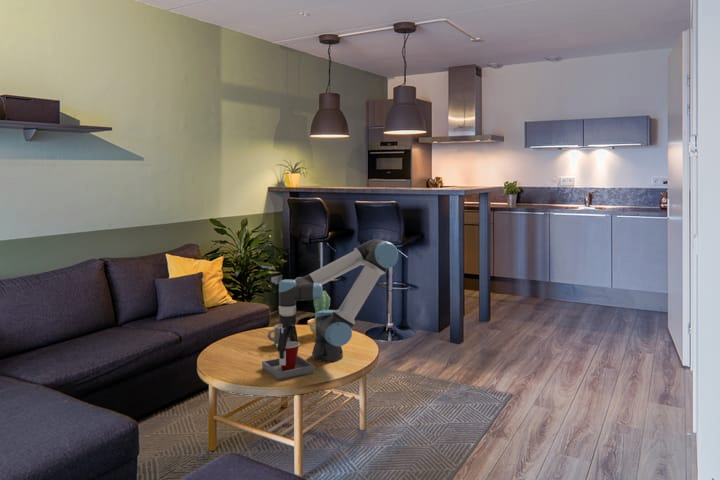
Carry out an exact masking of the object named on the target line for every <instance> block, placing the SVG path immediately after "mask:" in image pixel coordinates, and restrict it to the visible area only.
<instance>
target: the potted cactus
mask: <svg viewBox="0 0 720 480" xmlns="http://www.w3.org/2000/svg"><path fill="white" fill-rule="evenodd" d="M313 307H314V318H310V319H309V320H307V322H306V323H307V325H308V326H309V329H310V331H311V332H312V334H313V337H315V338H316V319H315V317H316V312H318V311H323V310H330V309H329V308H330V307H331V297H330V296H329V294H328V293H327V291H326V290H322V297H321V299H316V300H313Z"/></svg>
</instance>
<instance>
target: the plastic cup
mask: <svg viewBox="0 0 720 480" xmlns="http://www.w3.org/2000/svg"><path fill="white" fill-rule="evenodd" d="M300 345H301V344H300V342H299V341H295V342H287V343H286V347H285V351H286V365H285V366H284V365H281V368H282V370H283V371H287V370H292V369H295V365H296V359H297V355H298V351H299V347H300ZM275 347H276V349H277V348H278V344H277V345H276V346H275ZM277 352H278V353H279V351H277Z"/></svg>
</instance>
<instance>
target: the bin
mask: <svg viewBox="0 0 720 480" xmlns="http://www.w3.org/2000/svg"><path fill="white" fill-rule="evenodd" d="M261 368H262V370H263V371H265V372H266V373H267V374H268V375H270V376H271V377H273V378H274V379H275V380H276V381H283V380H287V379H289V380H290V379H294V378H299V377H304V376H307V375H313V374H315V365H314V364H313V363H312V362H309V361H308V360H305V359H304V358H303V357H301V356H299V355H298V354H297V359H296V365H295V369H292V370H287V371H283V370H282V368H281V365H279V357H278V358H273V359H268V360H263V361H261Z"/></svg>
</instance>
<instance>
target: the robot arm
mask: <svg viewBox="0 0 720 480" xmlns="http://www.w3.org/2000/svg"><path fill="white" fill-rule="evenodd" d="M398 260H399V251H398V249H397V247H396V246H395V245H394V244H393V243H392V242H390V241H388V240H382V239H379V238H375V239H371V240H368V241H366V242H363V243H362V244H360V245H358V246H356V247H354V248H353V251H351V252H349V253H348V254H345V255H344V256H341V257H340V258H337V259H336V260H334V261H332V262H329V263H328V264H326V265H325V266H322V267H320V268H319V269H316V270H314V271H313V272H311V273H309V274H307V275H305V276H299V277H296V278H295V279H287V278H286V279H282V280H280V281H279V283H278V308H277V309H278V310H279V311H278V313H279V315H278V323H279V324H282V325H283V327H282V328H280V334H279V341H278V348H277V347H276V351H277V352H278V351H279V352H278V356H279V357H278V358H279V365H284V366H285V365H286V351H285V347H286V343H287V339H288V337H289V338H290V340H291V341H292V342H299V340H298V332H297V328H296V327H297V326H296V323H297V316H296V314H297V302H298V301H314V300H316V299H321V297H322V291H323V285H324V284H326V283H329V282H331V281H333V280H335V279H337V278H338V277H341V276H342V275H344V274H346V273H348V272H349V271H352V270H354V269H356V268H358V267H359V266H364V267H363V268H362V270H361V272H360V273H359V275H358V276H357V278H356V279H355V281H354V283H353V284H352V287H351V288H350V290H349V292H348V293H347V295H346V297H345V298H344V300H343V302H342V303H341V305H340V306H339V307H338V309H328V310H323V311H318V312H316V317H315V316H314V319H316V337H315V342H314V345H313V350H312V351H311V358H312V359H313V360H314V361H318V362H326V363H327V362H336V361H340V360H341V359H343V358H344V351H343V348H342V346H345V345H347V344H348V343H349V342H350V341H351V339H352V337H353V331H352V330H353V328H354V327H355V325H356V322H355V318H356V317H357V315H358V313H359V312H360V310H361V309H362V307H363V305H364V304H365V302H366V300H367V299H368V297H369V295H370V293H371V292H372V290H373V289H374V287H375V285H376V283H377V282H378V281H379V278H380V277H381V276H383V275H385V274H386V273H387V272H388V270H389V268H391V267H394V266H395V265H396V264H397V261H398ZM291 341H290V342H291ZM342 357H343V358H342ZM339 359H340V360H339Z"/></svg>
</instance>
